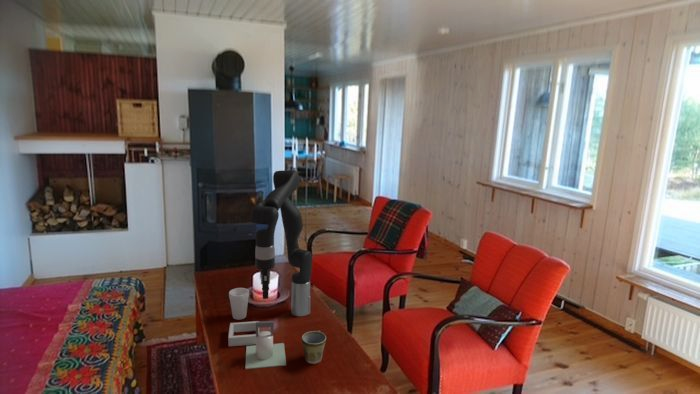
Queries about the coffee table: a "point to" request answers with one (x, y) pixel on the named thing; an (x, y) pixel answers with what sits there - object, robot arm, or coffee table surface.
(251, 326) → the frame
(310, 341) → the ceramic cup
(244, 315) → the foam cup
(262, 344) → the egg with flat handle
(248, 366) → the mat
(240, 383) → the coffee table surface
